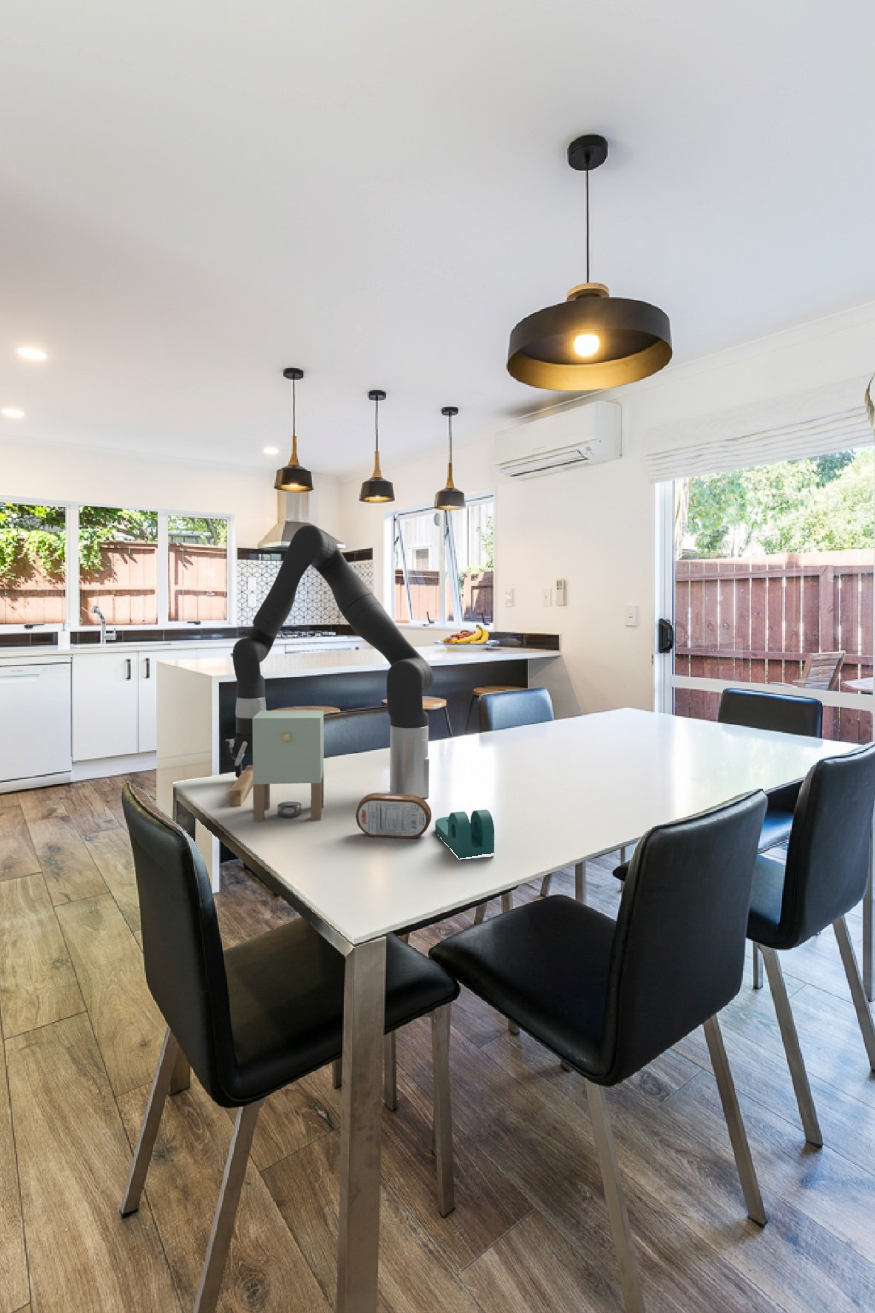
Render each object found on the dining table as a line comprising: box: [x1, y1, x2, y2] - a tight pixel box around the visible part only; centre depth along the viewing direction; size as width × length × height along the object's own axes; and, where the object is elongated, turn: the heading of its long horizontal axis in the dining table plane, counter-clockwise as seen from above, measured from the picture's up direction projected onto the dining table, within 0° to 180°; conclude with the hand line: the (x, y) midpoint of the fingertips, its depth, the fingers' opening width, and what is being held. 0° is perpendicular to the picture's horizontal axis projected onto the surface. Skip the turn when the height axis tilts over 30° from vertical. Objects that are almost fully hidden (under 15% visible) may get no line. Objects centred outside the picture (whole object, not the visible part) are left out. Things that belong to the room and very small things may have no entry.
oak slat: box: [228, 764, 253, 807], centre depth 156 cm, size 2×24×4 cm, turn 7°
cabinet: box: [252, 709, 325, 822], centre depth 139 cm, size 14×11×22 cm
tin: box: [355, 792, 432, 839], centre depth 127 cm, size 15×3×8 cm, turn 84°
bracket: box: [434, 809, 495, 859], centre depth 124 cm, size 18×7×8 cm, turn 17°
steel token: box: [277, 800, 302, 820], centre depth 139 cm, size 5×5×2 cm
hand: (251, 778), depth 166 cm, fingers open, 5 cm apart
